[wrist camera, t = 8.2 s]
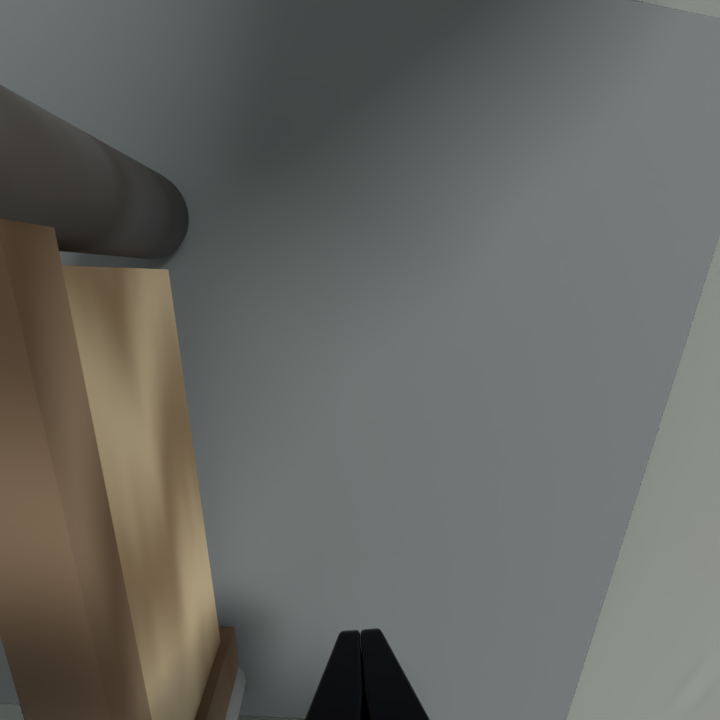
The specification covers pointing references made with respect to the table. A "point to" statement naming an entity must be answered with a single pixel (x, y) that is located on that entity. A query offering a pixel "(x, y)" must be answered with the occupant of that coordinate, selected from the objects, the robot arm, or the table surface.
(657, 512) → the table surface
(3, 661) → the gate base
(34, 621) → the wooden bar with ends
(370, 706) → the robot arm
